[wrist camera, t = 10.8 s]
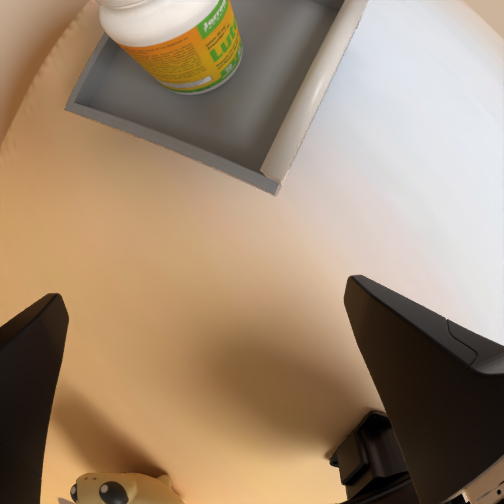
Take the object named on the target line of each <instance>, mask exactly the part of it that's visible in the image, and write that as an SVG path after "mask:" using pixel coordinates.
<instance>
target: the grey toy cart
mask: <svg viewBox="0 0 504 504" xmlns="http://www.w3.org/2000/svg"><path fill="white" fill-rule="evenodd" d="M230 3H231V6H232V9H233V13H234V16H235V19H236V23H237V26H238V30H239V33H240V37H241V41H242V47H243V53H242V59H241V62H240V64H239V67H238V68H237V70H236V71H235V73H234V74H233V75H232V76H231V77H230V79H228V80H227V81H226V82H225V83H223V84H222V85H221V86H219V87H217V88H215V89H213V90H211V91H208V92H205V93H202V94H196V95H183V94H178V93H174V92H172V91H170V90H168V89H166V88H165V87H163V86H162V85H161V84H160V83H159V82H158V81H157V80H156V79H155V78H154V77H153V76H152V75H151V74H150V73H149V72H147V71H146V70H145V69H144V68H143V67H142V66H141V65H140V64H139V63H138V62H137V61H136V60H135V59H133V58H132V57H131V56H130V55H129V54H128V53H127V52H126V51H125V50H123V49H122V48H121V47H120V46H119V45H118V44H117V43H116V42H115V41H113V40H112V39H111V38H110V36H109V35H108V34H107V33H106V32H105V33H104V35H103V36H102V38H101V40H100V41H99V43H98V45H97V46H96V48H95V50H94V52H93V53H92V55H91V57H90V59H89V60H88V62H87V64H86V66H85V68H84V70H83V72H82V74H81V76H80V77H79V79H78V81H77V83H76V85H75V87H74V90H73V92H72V94H71V96H70V98H69V100H68V102H67V104H66V107H65V109H64V110H67V111H69V112H72V113H75V114H77V115H80V116H82V117H85V118H88V119H90V120H93V121H96V122H99V123H101V124H104V125H107V126H109V127H112V128H115V129H118V130H120V131H123V132H125V133H128V134H131V135H133V136H136V137H138V138H141V139H144V140H146V141H149V142H151V143H154V144H156V145H159V146H161V147H164V148H166V149H169V150H171V151H173V152H176V153H178V154H181V155H183V156H186V157H188V158H190V159H193V160H195V161H197V162H200V163H202V164H204V165H207V166H209V167H211V168H214V169H216V170H218V171H221V172H223V173H225V174H227V175H230V176H232V177H234V178H236V179H239V180H241V181H243V182H245V183H247V184H250V185H252V186H254V187H256V188H258V189H261V190H263V191H265V192H267V193H269V194H271V195H273V196H277V194H278V192H279V190H280V188H281V186H283V184H284V182H285V179H286V177H287V175H288V173H289V169H290V167H291V165H292V163H293V161H294V158H295V156H296V154H297V152H298V150H299V148H300V146H301V144H302V142H303V139H304V137H305V135H306V133H307V131H308V129H309V127H310V125H311V123H312V120H313V118H314V116H315V114H316V112H317V110H318V108H319V106H320V104H321V101H322V99H323V97H324V95H325V93H326V91H327V89H328V87H329V85H330V82H331V80H332V78H333V76H334V74H335V72H336V70H337V68H338V66H339V64H340V61H341V59H342V57H343V55H344V53H345V51H346V49H347V47H348V45H349V42H350V40H351V38H352V36H353V34H354V32H355V30H356V29H357V27H358V25H359V23H360V21H361V18H362V16H363V13H364V10H365V8H366V5H367V3H368V0H230Z"/></svg>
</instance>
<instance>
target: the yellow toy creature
mask: <svg viewBox="0 0 504 504" xmlns="http://www.w3.org/2000/svg"><path fill="white" fill-rule="evenodd" d="M70 494H71V497H72V499H73V501H74V502H75V503H76V504H184V502H183V501H182V500H181V499H180V497H179V496H178V495H177V494H176V493H175V492H174V491H173V490H172V479H171V478H170V477H169V476H167V475H161V476H159V477H158V478H153V477H151V476H148V475H145V474H140V473H122V474H121V473H86V474H83V475H82V476H80V477H79V478H77V480H76V484H74V485H73V486H72V488H71V491H70Z"/></svg>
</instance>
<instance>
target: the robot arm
mask: <svg viewBox="0 0 504 504" xmlns="http://www.w3.org/2000/svg"><path fill="white" fill-rule="evenodd" d="M344 305H345V308H346V311H347V314H348V317H349V320H350V324H351V327H352V330H353V333H354V336H355V339H356V342H357V345H358V347H359V349H360V352H361V354H362V356H363V359H364V361H365V363H366V365H367V368H368V370H369V372H370V375H371V377H372V379H373V382H374V384H375V386H376V389H377V391H378V393H379V396H380V398H381V401H382V403H383V405H384V408H385V410H386V413H387V414H384V413H381V412H378V411H371V412H369V413H368V414H367V415H366V416H365V418H364V419H363V420H362V421H361V423H360V424H359V425H358V426H357V428H356V429H355V430H354V431H352V432H351V434H350V435H349V436H348V437H347V438H346V440H345V441H344V442H343V443H342V444H341V445H340V447H339V448H338V449H337V450H336V452H335V454H334V455H333V456H332V457H331V458H330V460H329V461H330V465H331V466H334V467H338V468H339V471H340V478H341V483H342V485H345V487H346V494H347V501H345V502H342V503H339V504H504V346H503V345H500V344H498V343H496V342H494V341H492V340H489V339H487V338H485V337H483V336H481V335H478V334H476V333H474V332H472V331H470V330H468V329H466V328H464V327H462V326H460V325H458V324H456V323H454V322H452V321H450V320H449V319H447V320H446V318H445V317H443V316H441V315H439V314H437V313H435V312H433V311H431V310H429V309H427V308H426V307H424V306H422V305H420V304H418V303H416V302H414V301H412V300H410V299H408V298H406V297H404V296H402V295H400V294H398V293H396V292H394V291H393V290H391V289H389V288H387V287H385V286H383V285H381V284H379V283H377V282H375V281H373V280H371V279H369V278H367V277H365V276H363V275H352V276H349V277H348V280H347V284H346V289H345V294H344ZM68 323H69V315H68V312H67V309H66V307H65V304H64V301H63V299H62V296H61V295H60V294H59V293H49V294H47V295H45V296H44V297H42V298H41V299H39V300H38V301H36V302H35V303H34V304H32V305H31V306H29V307H28V308H26V309H25V310H24V311H22V312H21V313H19V314H18V315H16V316H15V317H14V318H12V319H11V320H9V321H8V322H7V323H5V324H4V325H3V326H1V327H0V504H40V494H41V481H42V480H41V478H42V469H43V460H44V452H45V445H46V438H47V432H48V425H49V420H50V414H51V409H52V404H53V399H54V394H55V389H56V385H57V381H58V376H59V372H60V368H61V364H62V359H63V353H64V346H65V340H66V334H67V329H68ZM372 416H375V417H373V418H371V417H372ZM463 492H465V493H466V495H467V497H468V499H469V501H468V502H467V503H466V502H465V500H464V497H463V495H462V493H463ZM336 504H337V503H336Z"/></svg>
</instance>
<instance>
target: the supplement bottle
mask: <svg viewBox="0 0 504 504" xmlns="http://www.w3.org/2000/svg"><path fill="white" fill-rule="evenodd" d="M96 1H97V2H98V3H99V4H100V6H99V19H100V23H101V26H102V27H103V29H104V31H105V32H106V33H107V34H108V35H109V36H110V38H111V39H112V40H113V41H115V42H116V43H117V44H118V45H119V46H120V47H121V48H122V49H123V50H125V51H126V52H127V53H128V54H129V55H130V56H131V57H132V58H133V59H135V60H136V61H137V62H138V63H139V64H140V65H141V66H142V67H143V68H144V69H145V70H146V71H147V72H149V73H150V74H151V75H152V76H153V77H154V78H155V79H156V80H157V81H158V82H159V83H160V84H161V85H162V86H163V87H165V88H166V89H168V90H170V91H172V92H174V93H178V94H183V95H196V94H202V93H205V92H208V91H211V90H213V89H215V88H217V87H219V86H221V85H222V84H223V83H225V82H226V81H227V80H228V79H230V77H231V76H232V75H233V74H234V73H235V71H236V70H237V68H238V67H239V64H240V62H241V59H242V53H243V47H242V41H241V37H240V33H239V30H238V26H237V23H236V19H235V16H234V13H233V9H232V6H231V3H230V0H96Z"/></svg>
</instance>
